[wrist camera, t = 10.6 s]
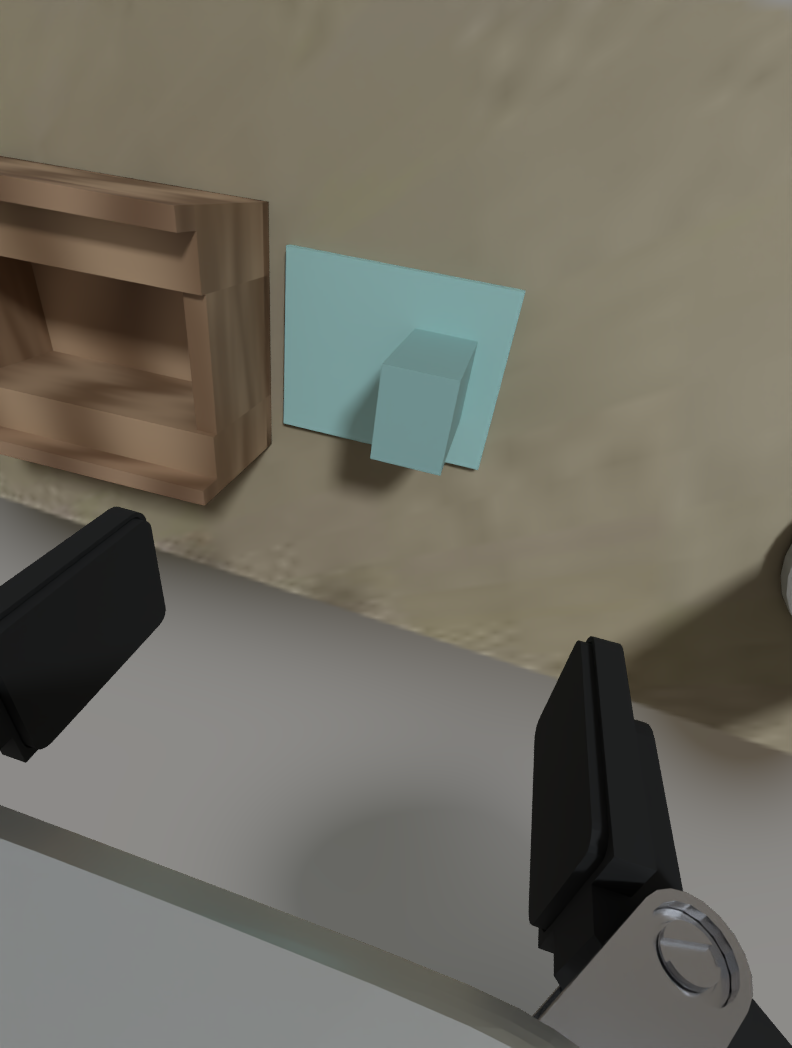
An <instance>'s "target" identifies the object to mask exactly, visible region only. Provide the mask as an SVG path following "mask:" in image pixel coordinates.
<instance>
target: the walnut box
mask: <svg viewBox="0 0 792 1048" xmlns="http://www.w3.org/2000/svg"><path fill="white" fill-rule="evenodd" d="M271 444H272V443H271V363H270V283H269V203H268V202H266V201H261V200H255V199H249V198H243V197H237V196H231V195H225V194H220V193H214V192H208V191H202V190H196V189H190V188H184V187H179V186H173V185H167V184H161V183H155V182H149V181H143V180H138V179H132V178H126V177H120V176H114V175H108V174H102V173H97V172H91V171H85V170H79V169H73V168H67V167H61V166H56V165H50V164H44V163H38V162H32V161H26V160H20V159H15V158H9V157H3V156H0V454H2V455H6V456H10V457H14V458H18V459H22V460H25V461H29V462H33V463H37V464H41V465H45V466H49V467H53V468H57V469H61V470H65V471H69V472H73V473H77V474H81V475H85V476H89V477H93V478H97V479H101V480H105V481H109V482H112V483H116V484H120V485H124V486H128V487H132V488H136V489H140V490H144V491H148V492H152V493H156V494H160V495H164V496H168V497H172V498H176V499H180V500H184V501H188V502H192V503H195V504H199V505H203V506H205V505H206V504H207V503H208V502H209V501H211V500H212V499H213V498H214V497H215V496H216V495H217V494H218V493H219V492H220V491H221V490H222V489H223V488H224V487H226V486H227V485H228V484H229V483H230V482H231V481H232V480H233V479H234V478H235V477H236V476H237V475H238V474H239V473H241V472H242V471H243V470H244V469H245V468H246V467H247V466H248V465H249V464H250V463H251V462H252V461H253V460H254V459H256V458H257V457H258V456H259V455H260V454H261V453H262V452H263V451H264V450H265V449H266V448H267V447H268V446H269V445H271Z"/></svg>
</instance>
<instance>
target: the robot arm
mask: <svg viewBox="0 0 792 1048" xmlns="http://www.w3.org/2000/svg"><path fill="white" fill-rule="evenodd" d="M781 590H782V596H783V598H784V601H785V604H786V606H787V609H788V611H789V612H790V614H791V616H792V544H791V546H790V548H789V550H788V552H787V554H786V556H785V559H784V563H783V568H782V572H781ZM165 611H166V609H165V603H164V597H163V592H162V586H161V580H160V574H159V568H158V564H157V557H156V551H155V546H154V540H153V535H152V529H151V525H150V524H149V522H147V521H146V518H145V516H144V515H143V514H141V513H139V512H135V511H132V510H128V509H124V508H121V507H113V508H111V509H109V510H107V511H106V512H105V513H103V514H102V515H100V516H99V517H97V518H96V519H95V520H93V521H92V522H90V523H89V524H88V525H86V526H85V527H83V528H82V529H80V530H79V531H78V532H76V533H75V534H73V535H72V536H71V537H69V538H68V539H66V540H65V541H64V542H62V543H61V544H59V545H58V546H56V547H55V548H54V549H52V550H51V551H49V552H48V553H46V554H45V555H44V556H42V557H41V558H39V559H38V560H37V561H35V562H34V563H33V564H31V565H30V566H28V567H27V568H25V569H24V570H23V571H21V572H20V573H18V574H17V575H15V576H14V577H13V578H11V579H10V580H8V581H7V582H5V583H4V584H3V585H1V586H0V751H1V753H2V754H3V755H6V756H9V757H11V758H14V759H17V760H20V761H23V762H27V761H28V760H29V759H30V758H31V757H32V756H33V754H34V753H35V752H36V751H37V750H38V749H43V748H45V747H47V746H48V745H49V744H51V743H52V742H53V740H54V739H55V738H56V737H57V736H58V735H59V734H60V733H61V732H62V731H63V730H64V729H65V727H66V726H67V725H68V724H69V723H70V722H71V721H72V720H73V719H74V718H75V717H76V715H77V714H78V713H79V712H80V711H81V710H82V709H83V708H84V707H85V706H86V705H87V703H88V702H89V701H90V700H91V699H92V698H93V697H94V696H95V695H96V694H97V693H98V691H99V690H100V689H101V688H102V687H103V686H104V685H105V684H106V683H107V682H108V681H109V679H110V678H111V677H112V676H113V675H114V674H115V673H116V672H117V671H118V670H119V669H120V667H121V666H122V665H123V664H124V663H125V662H126V661H127V660H128V659H129V658H130V657H131V655H132V654H133V653H134V652H135V651H136V650H137V649H138V648H139V647H140V646H141V644H142V643H143V642H144V641H145V640H146V639H147V638H148V637H149V636H150V635H151V634H152V633H153V631H154V630H155V629H156V628H157V627H158V626H159V625H160V623H161V622H162V620H163V619H164V616H165ZM530 861H531V862H530V888H529V921H530V924H532V925H533V926H536V927H539V937H538V940H539V941H538V948H540V949H543V950H545V951H548V952H551V953H554V977H555V978H556V980H557V981H558V983H559V986H558V987H557V988H556V989H555V991H554V992H553V993H552V994H551V995H550V996H549V997H548V998H547V1000H546V1001H545V1002H544V1003H543V1004H542V1005H541V1006H540V1008H539V1009H538V1010H537V1011H536V1012H535V1013H534V1014H533V1016H531V1015H529V1014H527V1013H526V1012H524V1011H522V1010H521V1009H519V1008H517V1007H515V1006H512V1005H510V1004H508V1003H506V1002H504V1001H502V1000H500V999H497V998H495V997H493V996H491V995H489V994H487V993H485V992H483V991H480V990H478V989H476V988H474V987H472V986H470V985H467V984H465V983H462V982H460V981H458V980H455V979H453V978H450V977H448V976H445V975H443V974H440V973H438V972H435V971H433V970H430V969H428V968H426V967H423V966H420V965H418V964H415V963H413V962H411V961H408V960H406V959H403V958H401V957H398V956H396V955H393V954H391V953H388V952H386V951H383V950H381V949H379V948H376V947H374V946H371V945H368V944H366V943H363V942H360V941H358V940H355V939H353V938H350V937H347V936H345V935H342V934H340V933H337V932H334V931H332V930H329V929H327V928H324V927H321V926H319V925H316V924H313V923H311V922H308V921H306V920H303V919H301V918H298V917H295V916H293V915H290V914H288V913H285V912H282V911H280V910H277V909H274V908H272V907H269V906H267V905H264V904H261V903H259V902H256V901H254V900H251V899H248V898H246V897H243V896H241V895H238V894H235V893H233V892H230V891H227V890H225V889H222V888H219V887H216V886H214V885H212V884H209V883H206V882H204V881H201V880H198V879H195V878H193V877H190V876H188V875H185V874H183V873H180V872H177V871H175V870H172V869H169V868H167V867H164V866H161V865H159V864H156V863H153V862H151V861H148V860H145V859H143V858H140V857H137V856H135V855H132V854H129V853H127V852H124V851H122V850H119V849H116V848H114V847H111V846H108V845H106V844H103V843H100V842H98V841H95V840H92V839H90V838H87V837H84V836H82V835H79V834H76V833H74V832H71V831H68V830H66V829H63V828H60V827H58V826H54V825H52V824H49V823H47V822H44V821H41V820H39V819H36V818H33V817H30V816H28V815H25V814H23V813H20V812H17V811H14V810H12V809H9V808H6V807H4V806H1V805H0V1048H792V1046H791V1045H790V1043H789V1042H788V1041H787V1040H786V1038H785V1037H784V1036H783V1035H782V1034H781V1032H780V1031H779V1030H778V1029H777V1028H776V1026H775V1025H774V1024H773V1023H772V1022H771V1020H770V1019H769V1018H768V1017H767V1015H766V1014H765V1013H764V1012H763V1011H762V1009H761V1008H760V1007H759V1006H758V1005H757V1003H756V1002H755V1001H754V1000H753V999H752V997H753V987H752V974H751V971H750V968H749V965H748V962H747V959H746V956H745V953H744V951H743V950H742V948H741V946H740V944H739V942H738V940H737V939H736V937H735V935H734V933H733V932H732V931H731V930H730V928H729V927H728V926H727V925H726V923H725V922H724V921H723V920H722V919H721V917H720V916H719V915H718V914H717V913H716V912H715V911H713V910H712V909H711V908H710V907H709V906H708V905H706V904H705V903H704V902H703V901H701V900H699V899H698V898H696V897H694V896H692V895H690V894H689V893H687V892H683V888H682V884H681V878H680V872H679V867H678V862H677V856H676V851H675V846H674V841H673V835H672V830H671V824H670V820H669V813H668V808H667V804H666V797H665V792H664V787H663V781H662V776H661V770H660V765H659V760H658V754H657V749H656V744H655V738H654V735H653V731H652V729H651V727H650V726H649V724H647V723H644V722H641V721H638V720H634V717H633V710H632V704H631V697H630V691H629V684H628V678H627V671H626V665H625V658H624V652H623V648H622V646H621V644H618V643H614V642H611V641H607V640H604V639H600V638H596V637H593V636H590V637H589V638H588V639H587V641H586V642H583V641H577V642H576V644H575V646H574V648H573V650H572V652H571V654H570V656H569V658H568V660H567V662H566V664H565V667H564V669H563V671H562V673H561V675H560V677H559V679H558V681H557V683H556V685H555V688H554V690H553V692H552V694H551V696H550V698H549V700H548V702H547V704H546V706H545V708H544V710H543V712H542V714H541V716H540V719H539V721H538V724H537V727H536V732H535V742H534V772H533V801H532V830H531V859H530Z"/></svg>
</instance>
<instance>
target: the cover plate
mask: <svg viewBox="0 0 792 1048" xmlns="http://www.w3.org/2000/svg"><path fill="white" fill-rule="evenodd" d="M524 294H525V290H521V289H516V288H510V287H505V286H500V285H495V284H490V283H485V282H480V281H475V280H469V279H464V278H459V277H454V276H449V275H444V274H439V273H433V272H428V271H423V270H418V269H413V268H408V267H403V266H398V265H392V264H387V263H382V262H377V261H372V260H367V259H362V258H357V257H351V256H346V255H341V254H336V253H331V252H326V251H321V250H315V249H310V248H305V247H300V246H295V245H286V291H285V362H284V423H285V424H289V425H293V426H297V427H301V428H305V429H309V430H314V431H318V432H322V433H326V434H330V435H334V436H339V437H343V438H347V439H351V440H355V441H359V442H364V443H368V444H372V448H371V456H370V459H374V460H378V461H382V462H386V463H390V464H395V465H399V466H403V467H407V468H411V469H415V470H419V471H423V472H427V473H431V474H436V475H440V474H441V472H442V469H443V466H444V463H445V462H447V463H451V464H455V465H459V466H463V467H468V468H472V469H476V470H478V468H479V464H480V461H481V457H482V453H483V449H484V445H485V442H486V438H487V434H488V430H489V427H490V423H491V419H492V415H493V411H494V408H495V404H496V400H497V396H498V393H499V389H500V385H501V381H502V377H503V374H504V370H505V366H506V362H507V359H508V355H509V351H510V347H511V344H512V340H513V336H514V332H515V328H516V325H517V321H518V317H519V313H520V310H521V306H522V302H523V298H524Z"/></svg>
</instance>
